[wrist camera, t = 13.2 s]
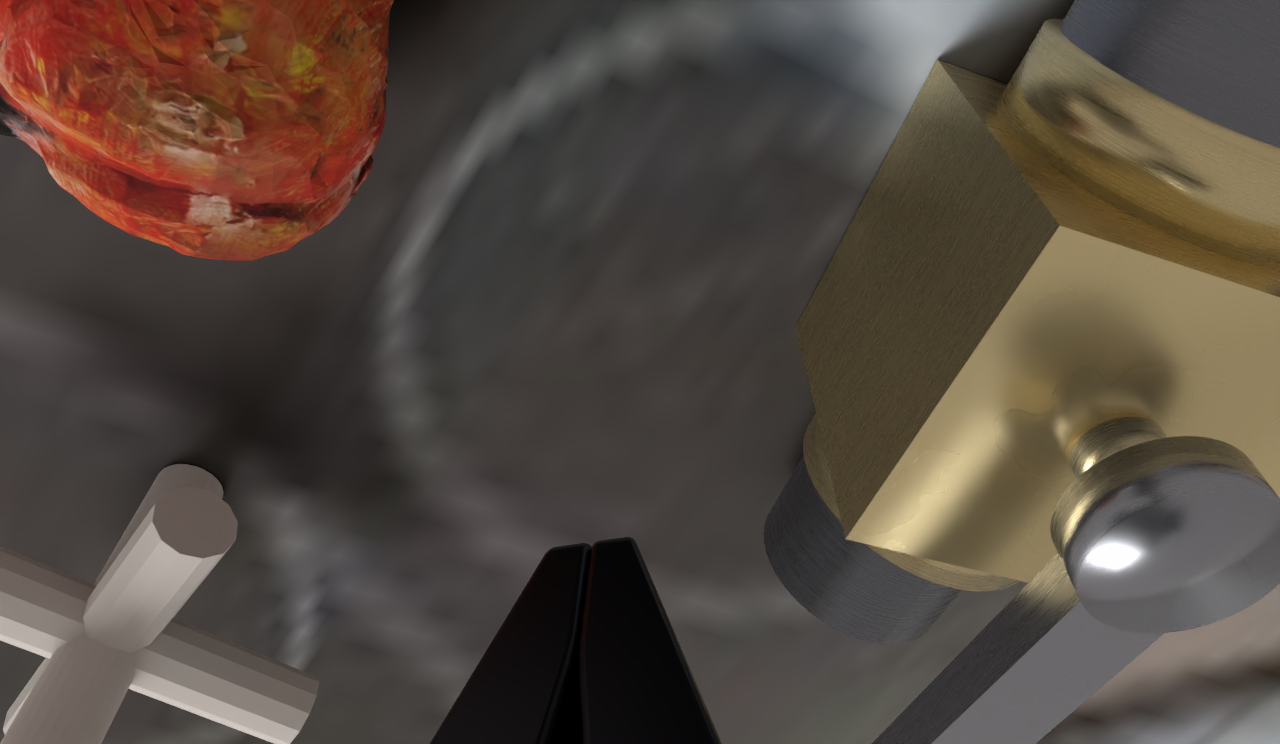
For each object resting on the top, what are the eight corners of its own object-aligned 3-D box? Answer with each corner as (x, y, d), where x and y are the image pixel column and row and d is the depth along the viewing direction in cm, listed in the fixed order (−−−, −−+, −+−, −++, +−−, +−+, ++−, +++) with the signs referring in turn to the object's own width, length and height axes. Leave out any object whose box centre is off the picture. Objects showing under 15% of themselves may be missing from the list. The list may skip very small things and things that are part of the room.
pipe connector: (74, 274, 22) (-240, 618, 14) (434, 468, 26) (345, 824, 18) (-47, 505, 27) (-334, 860, 19) (273, 640, 31) (146, 983, 23)
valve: (1081, -213, 16) (1384, -122, 10) (1400, -75, 18) (1856, 87, 11) (721, 466, 26) (749, 741, 19) (944, 522, 27) (1040, 797, 21)
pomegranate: (386, -295, 17) (-321, -318, 12) (616, -171, 14) (-269, -128, 8) (400, 77, 22) (-95, 170, 17) (569, 242, 19) (0, 425, 14)
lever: (1108, 367, 15) (1204, 515, 12) (1266, 422, 15) (1390, 574, 13) (717, 816, 23) (726, 958, 21) (831, 839, 24) (853, 979, 21)
